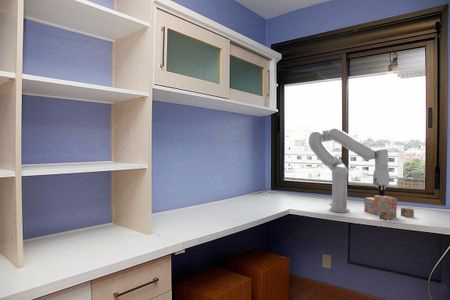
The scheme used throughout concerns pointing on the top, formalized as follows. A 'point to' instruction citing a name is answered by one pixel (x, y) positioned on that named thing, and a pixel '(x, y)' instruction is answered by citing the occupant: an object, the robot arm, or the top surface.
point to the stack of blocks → (380, 204)
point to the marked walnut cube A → (386, 215)
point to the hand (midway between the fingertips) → (381, 195)
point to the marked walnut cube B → (407, 212)
